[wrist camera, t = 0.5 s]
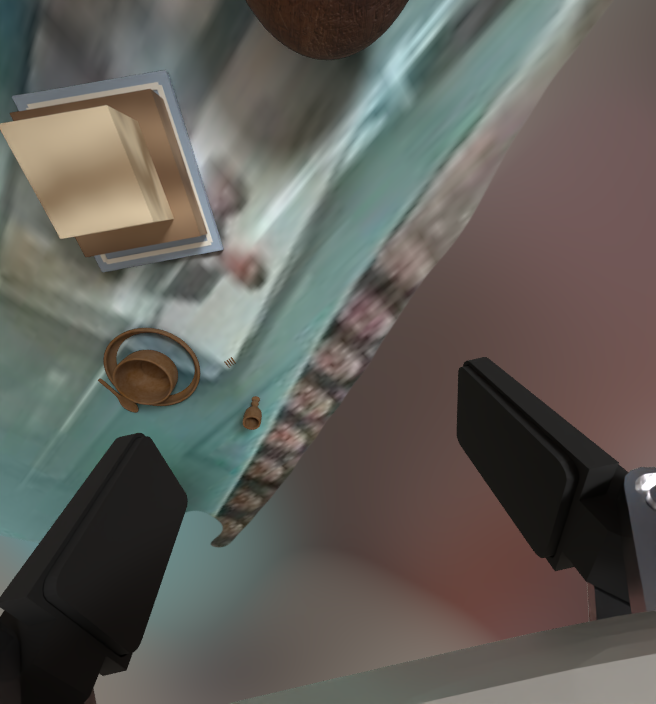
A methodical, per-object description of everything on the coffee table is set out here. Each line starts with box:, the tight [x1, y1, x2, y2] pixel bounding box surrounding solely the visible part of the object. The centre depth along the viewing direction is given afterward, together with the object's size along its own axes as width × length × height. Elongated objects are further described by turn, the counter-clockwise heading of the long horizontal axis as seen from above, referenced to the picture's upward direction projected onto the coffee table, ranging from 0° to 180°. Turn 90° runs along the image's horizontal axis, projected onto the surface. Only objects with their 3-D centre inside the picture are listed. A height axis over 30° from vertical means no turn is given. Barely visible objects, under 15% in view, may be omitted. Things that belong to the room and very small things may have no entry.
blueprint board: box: [12, 70, 224, 272], centre depth 31 cm, size 16×14×1 cm
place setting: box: [98, 328, 262, 430], centre depth 41 cm, size 18×20×6 cm
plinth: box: [0, 89, 207, 257], centre depth 27 cm, size 12×12×8 cm
